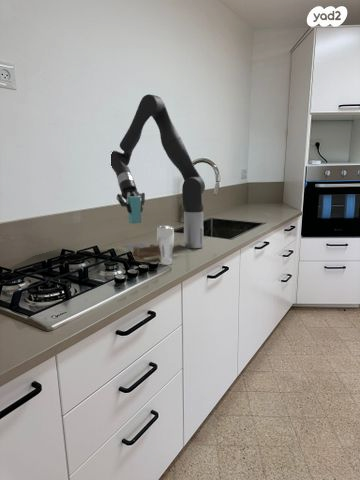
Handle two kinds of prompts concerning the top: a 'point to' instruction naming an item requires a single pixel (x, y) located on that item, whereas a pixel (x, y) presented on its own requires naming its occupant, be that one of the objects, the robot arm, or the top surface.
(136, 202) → the teal block
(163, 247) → the beer glass
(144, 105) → the robot arm
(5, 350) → the top surface
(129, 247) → the pad
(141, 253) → the walnut bracket
